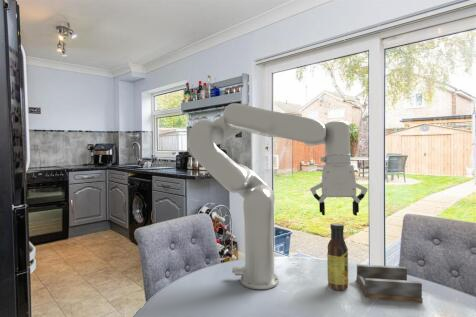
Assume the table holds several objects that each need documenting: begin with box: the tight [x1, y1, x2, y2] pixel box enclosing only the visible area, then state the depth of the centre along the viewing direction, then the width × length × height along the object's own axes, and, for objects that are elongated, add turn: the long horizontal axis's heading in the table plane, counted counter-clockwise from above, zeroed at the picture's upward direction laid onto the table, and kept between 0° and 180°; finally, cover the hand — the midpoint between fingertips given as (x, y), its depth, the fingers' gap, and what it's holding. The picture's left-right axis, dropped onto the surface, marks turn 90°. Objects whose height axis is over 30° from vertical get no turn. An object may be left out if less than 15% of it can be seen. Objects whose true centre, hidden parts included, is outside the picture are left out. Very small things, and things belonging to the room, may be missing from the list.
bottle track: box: [356, 264, 423, 303], centre depth 94 cm, size 15×14×5 cm
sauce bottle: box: [326, 222, 349, 291], centre depth 97 cm, size 7×6×20 cm
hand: (338, 214), depth 97 cm, fingers open, 9 cm apart
